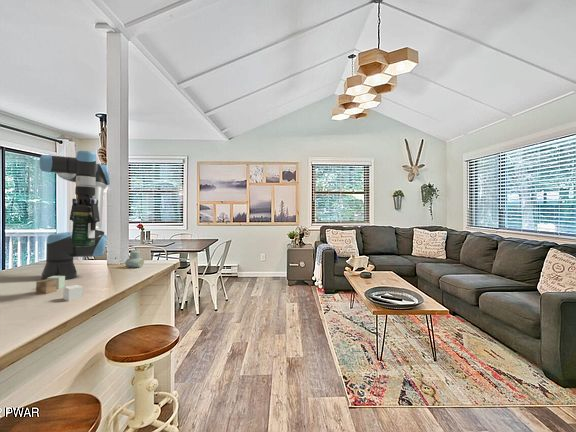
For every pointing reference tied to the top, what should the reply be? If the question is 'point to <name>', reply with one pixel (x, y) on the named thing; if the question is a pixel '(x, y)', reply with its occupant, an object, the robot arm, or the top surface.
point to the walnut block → (46, 286)
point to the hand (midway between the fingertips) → (83, 237)
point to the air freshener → (134, 260)
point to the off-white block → (73, 293)
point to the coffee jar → (81, 227)
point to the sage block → (58, 281)
